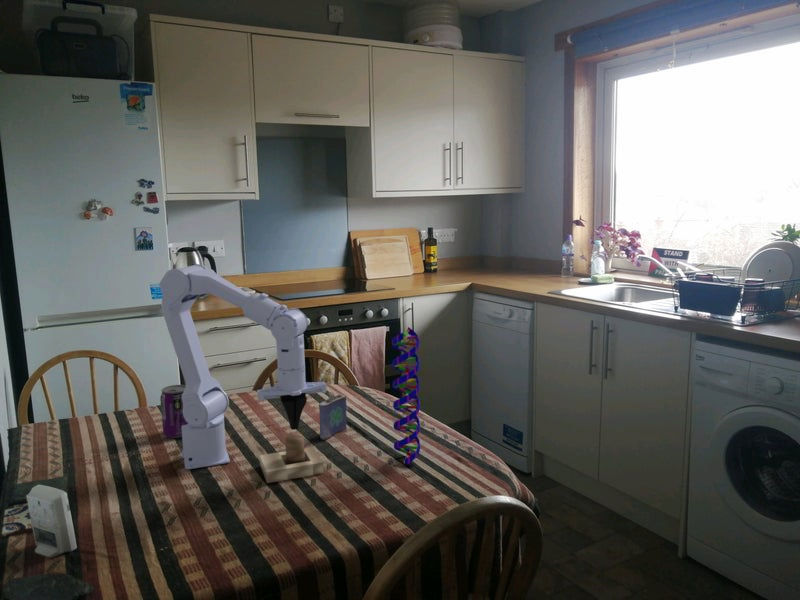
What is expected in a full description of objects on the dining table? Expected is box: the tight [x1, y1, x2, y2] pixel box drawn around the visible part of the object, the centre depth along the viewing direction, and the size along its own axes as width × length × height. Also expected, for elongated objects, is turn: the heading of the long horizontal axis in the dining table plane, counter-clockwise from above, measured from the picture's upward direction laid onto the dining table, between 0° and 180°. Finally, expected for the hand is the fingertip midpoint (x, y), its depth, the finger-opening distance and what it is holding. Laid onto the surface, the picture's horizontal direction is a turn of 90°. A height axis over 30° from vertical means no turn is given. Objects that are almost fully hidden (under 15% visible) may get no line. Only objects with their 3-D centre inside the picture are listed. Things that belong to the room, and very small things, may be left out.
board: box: [259, 446, 324, 484], centre depth 138 cm, size 12×9×2 cm
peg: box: [284, 434, 305, 465], centre depth 139 cm, size 4×4×7 cm
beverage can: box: [159, 384, 188, 439], centre depth 159 cm, size 7×7×12 cm
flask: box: [318, 391, 348, 441], centre depth 158 cm, size 9×3×11 cm, turn 146°
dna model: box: [391, 327, 421, 466], centre depth 140 cm, size 6×6×30 cm
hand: (294, 427), depth 137 cm, fingers closed
